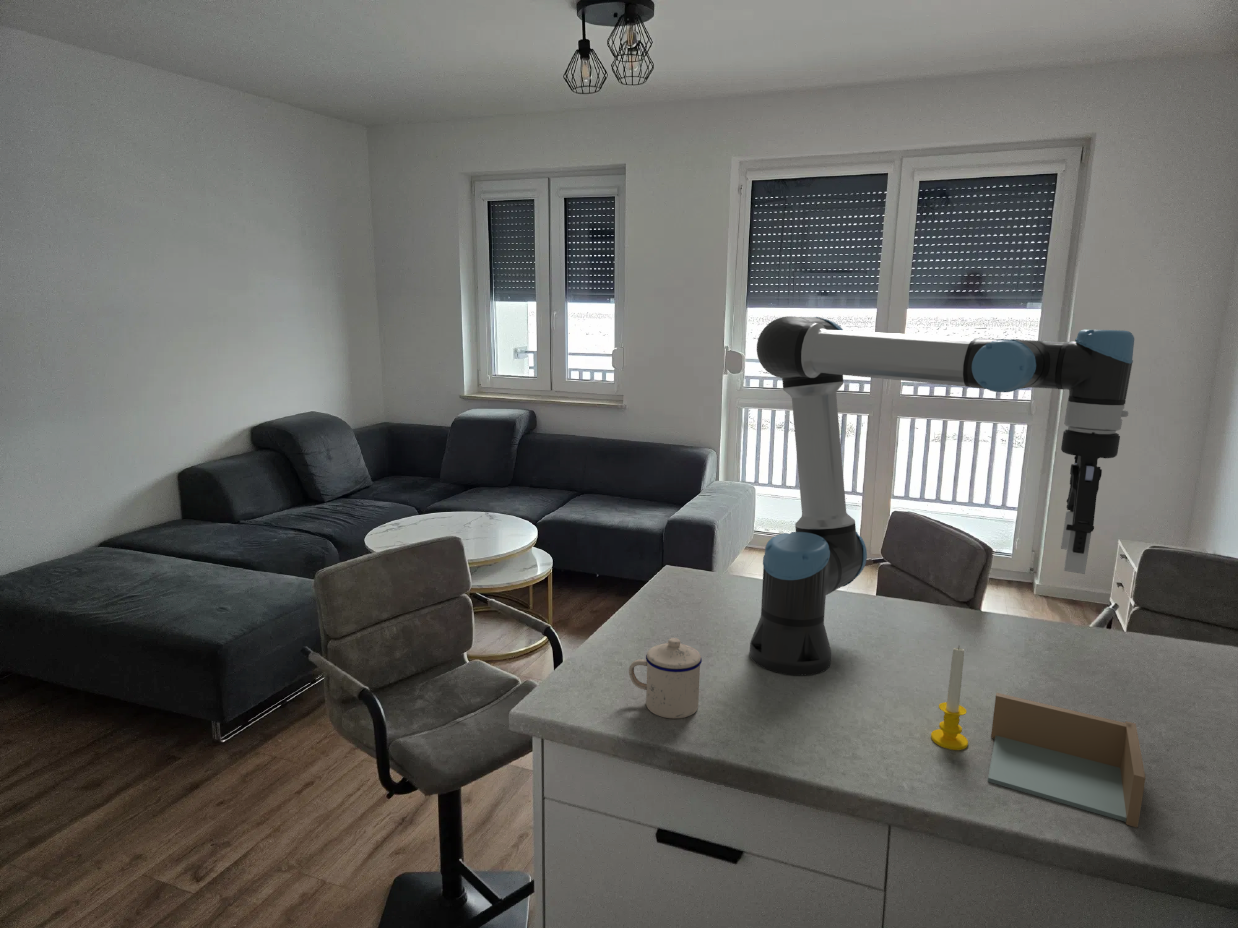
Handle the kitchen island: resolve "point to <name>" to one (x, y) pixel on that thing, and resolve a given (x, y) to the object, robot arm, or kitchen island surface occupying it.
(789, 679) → the kitchen island surface
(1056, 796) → the open room model
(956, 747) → the candle
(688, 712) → the teacup with lid
